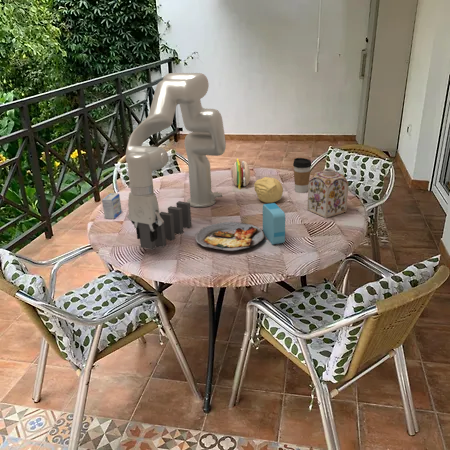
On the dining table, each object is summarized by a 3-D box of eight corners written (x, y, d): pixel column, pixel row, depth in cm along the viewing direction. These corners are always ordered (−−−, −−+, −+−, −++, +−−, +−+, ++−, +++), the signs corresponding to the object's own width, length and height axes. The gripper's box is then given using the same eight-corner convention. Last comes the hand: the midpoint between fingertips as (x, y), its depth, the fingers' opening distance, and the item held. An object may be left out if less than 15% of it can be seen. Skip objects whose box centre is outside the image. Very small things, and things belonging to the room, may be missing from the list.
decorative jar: (347, 212, 186) (350, 170, 179) (326, 219, 181) (328, 175, 173) (326, 204, 196) (329, 163, 188) (306, 210, 190) (308, 168, 183)
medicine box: (114, 219, 188) (111, 199, 184) (104, 218, 188) (101, 199, 185) (122, 212, 195) (119, 193, 191) (112, 211, 196) (109, 192, 192)
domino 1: (144, 245, 160) (141, 219, 156) (155, 247, 158) (153, 221, 154) (140, 247, 158) (137, 221, 154) (152, 249, 156) (149, 223, 152)
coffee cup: (297, 186, 218) (298, 156, 212) (313, 189, 213) (315, 158, 207) (289, 191, 212) (289, 160, 206) (305, 194, 207) (306, 163, 201)
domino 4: (172, 230, 175) (170, 206, 171) (183, 232, 173) (181, 208, 169) (169, 232, 174) (167, 208, 170) (180, 234, 172) (178, 209, 168)
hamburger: (251, 188, 217) (251, 164, 213) (234, 189, 217) (233, 165, 212) (248, 181, 228) (248, 158, 224) (232, 181, 228) (232, 158, 223)
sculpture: (250, 200, 203) (250, 177, 198) (270, 194, 209) (270, 171, 205) (268, 207, 194) (268, 183, 190) (287, 200, 201) (288, 177, 197)
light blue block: (285, 244, 161) (285, 213, 156) (273, 246, 160) (273, 214, 155) (273, 231, 172) (274, 201, 167) (262, 232, 171) (262, 203, 166)
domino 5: (180, 224, 180) (179, 201, 176) (191, 226, 178) (190, 202, 174) (178, 226, 179) (176, 202, 175) (189, 228, 177) (187, 204, 172)
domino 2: (154, 242, 166) (152, 217, 162) (166, 244, 164) (163, 219, 160) (151, 244, 164) (148, 219, 160) (162, 247, 162) (160, 221, 158)
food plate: (273, 231, 171) (272, 223, 169) (250, 259, 152) (250, 250, 150) (213, 224, 181) (213, 216, 179) (185, 249, 162) (184, 240, 160)
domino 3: (163, 236, 171) (161, 211, 167) (175, 238, 168) (172, 213, 164) (160, 238, 169) (158, 213, 165) (172, 240, 167) (169, 215, 163)
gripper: (114, 189, 150) (121, 239, 157) (156, 196, 143) (161, 247, 150) (128, 183, 156) (134, 230, 164) (169, 189, 149) (173, 238, 156)
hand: (147, 238), depth 157 cm, fingers closed on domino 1, 4 cm apart
